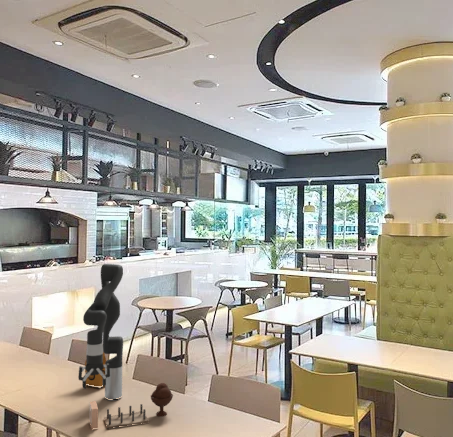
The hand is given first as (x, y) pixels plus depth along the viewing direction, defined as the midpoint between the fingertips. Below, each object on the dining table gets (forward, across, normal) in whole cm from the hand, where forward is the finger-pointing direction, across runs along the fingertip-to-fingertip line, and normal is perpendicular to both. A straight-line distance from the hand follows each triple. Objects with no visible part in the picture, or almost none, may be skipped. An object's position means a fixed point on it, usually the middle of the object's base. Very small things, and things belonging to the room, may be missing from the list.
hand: (94, 387), depth 216 cm
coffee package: (+18, -8, -56) cm, 59 cm away
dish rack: (+18, -15, +1) cm, 23 cm away
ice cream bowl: (+18, -33, -1) cm, 38 cm away
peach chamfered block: (+18, 0, 0) cm, 18 cm away
